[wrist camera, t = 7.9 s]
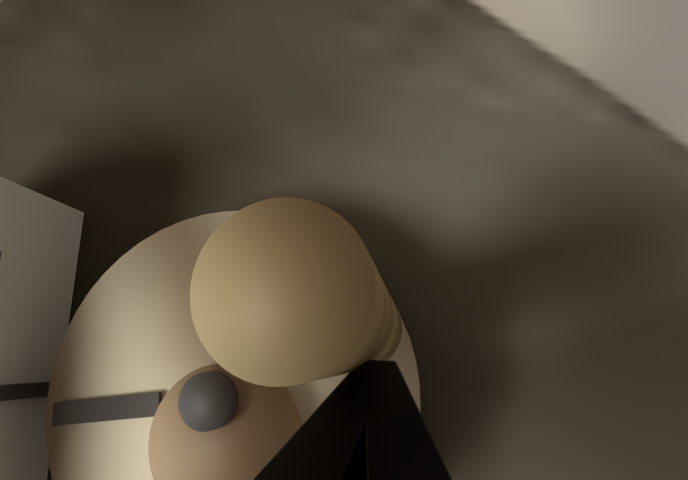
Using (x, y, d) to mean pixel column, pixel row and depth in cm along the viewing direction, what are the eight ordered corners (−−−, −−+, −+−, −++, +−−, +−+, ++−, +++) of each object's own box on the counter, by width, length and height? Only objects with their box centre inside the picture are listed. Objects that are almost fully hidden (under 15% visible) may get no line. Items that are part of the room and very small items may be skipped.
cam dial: (156, 647, 16) (-447, 1310, 5) (58, 315, 19) (-435, 259, 8) (487, 487, 16) (653, 811, 4) (329, 176, 19) (198, -82, 8)
